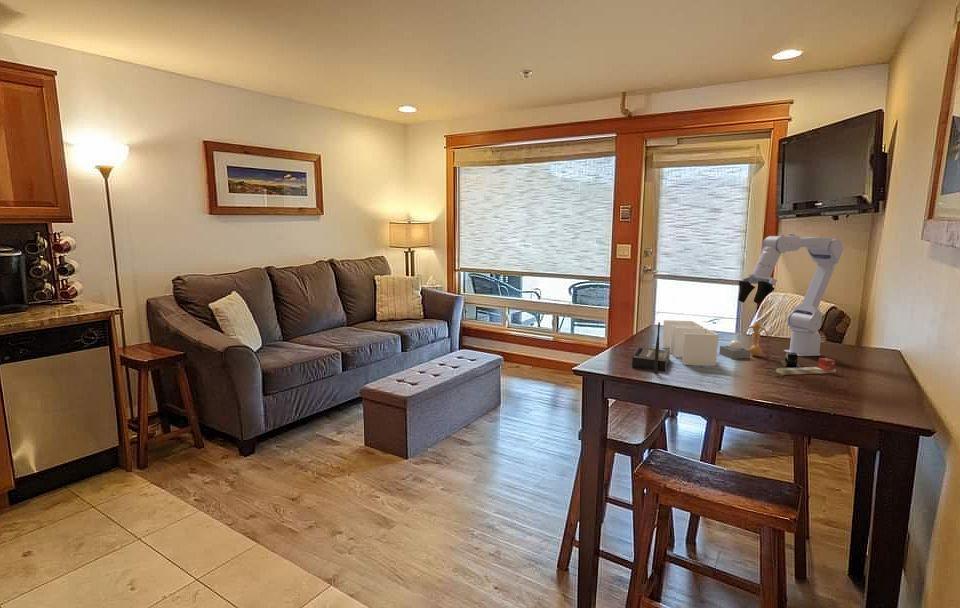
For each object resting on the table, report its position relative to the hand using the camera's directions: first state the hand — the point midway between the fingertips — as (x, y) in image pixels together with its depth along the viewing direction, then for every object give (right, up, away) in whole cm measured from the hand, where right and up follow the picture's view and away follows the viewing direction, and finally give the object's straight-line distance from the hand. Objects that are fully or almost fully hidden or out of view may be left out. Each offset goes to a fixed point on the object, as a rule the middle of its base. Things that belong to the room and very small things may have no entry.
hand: (748, 302), depth 178 cm
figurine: (+8, -20, +10) cm, 24 cm away
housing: (-1, -20, +8) cm, 22 cm away
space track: (+13, -23, -12) cm, 29 cm away
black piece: (+14, -22, -2) cm, 26 cm away
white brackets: (-19, -20, +7) cm, 28 cm away
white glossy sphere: (-1, -19, +8) cm, 20 cm away
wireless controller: (-37, -22, -6) cm, 43 cm away
